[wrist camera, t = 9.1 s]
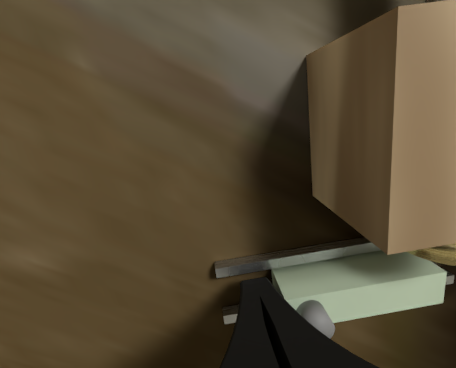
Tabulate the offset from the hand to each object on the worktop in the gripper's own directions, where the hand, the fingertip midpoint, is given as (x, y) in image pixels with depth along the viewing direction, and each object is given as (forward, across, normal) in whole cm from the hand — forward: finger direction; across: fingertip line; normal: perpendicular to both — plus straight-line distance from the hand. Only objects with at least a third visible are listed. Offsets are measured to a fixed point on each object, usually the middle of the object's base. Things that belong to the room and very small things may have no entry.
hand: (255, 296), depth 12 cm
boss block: (+1, -7, -7) cm, 10 cm away
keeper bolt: (+1, -4, 0) cm, 5 cm away
